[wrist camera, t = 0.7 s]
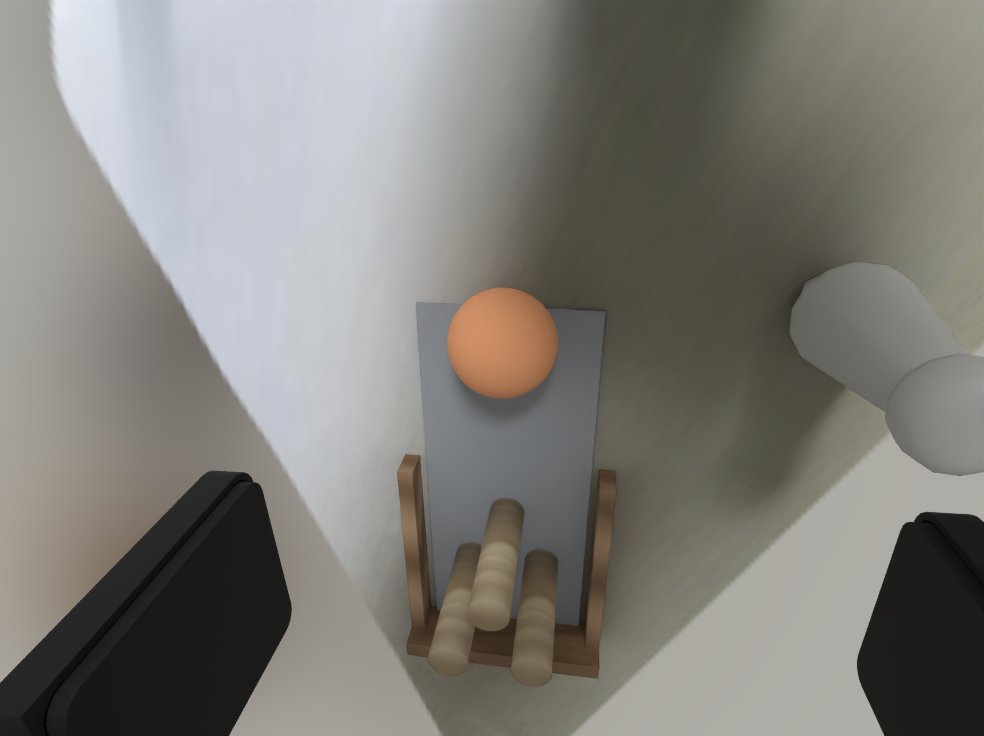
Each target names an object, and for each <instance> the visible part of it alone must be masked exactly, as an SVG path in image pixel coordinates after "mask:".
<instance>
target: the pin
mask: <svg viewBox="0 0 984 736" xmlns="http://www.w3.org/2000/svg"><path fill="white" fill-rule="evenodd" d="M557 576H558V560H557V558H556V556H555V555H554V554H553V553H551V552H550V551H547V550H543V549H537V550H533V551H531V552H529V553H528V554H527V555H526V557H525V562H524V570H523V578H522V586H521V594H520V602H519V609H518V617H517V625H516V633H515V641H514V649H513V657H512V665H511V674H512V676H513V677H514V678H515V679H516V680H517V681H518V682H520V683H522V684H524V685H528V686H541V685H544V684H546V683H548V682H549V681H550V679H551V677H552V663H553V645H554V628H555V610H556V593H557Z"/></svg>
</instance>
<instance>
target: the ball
mask: <svg viewBox="0 0 984 736" xmlns="http://www.w3.org/2000/svg"><path fill="white" fill-rule="evenodd" d="M447 350H448V355H449V359H450V362H451V365H452V367H453V369H454V371H455V373H456V374H457V375H458V377H459V378H460V379H461V380H462V381H463V382H464V384H466V385H467V386H468V387H469V388H471V389H472V390H474V391H475V392H477V393H479V394H481V395H484V396H487V397H491V398H498V399H507V398H513V397H518V396H521V395H524V394H526V393H528V392H530V391H532V390H533V389H534V388H536V387H537V386H538V385H539V384H541V383H542V382H543V381H544V379H545V378H546V377H547V376H548V374H549V373H550V371H551V369H552V367H553V365H554V363H555V360H556V356H557V351H558V335H557V329H556V326H555V323H554V321H553V319H552V317H551V315H550V313H549V312H548V310H547V309H546V308H545V307H544V305H543V304H542V303H541V302H539V301H538V300H537V299H536V298H534V297H533V296H531V295H530V294H528V293H526V292H523V291H521V290H517V289H513V288H492V289H488V290H484V291H482V292H480V293H477V294H476V295H474V296H472V297H471V298H469V299H468V300H467V301H466V302H464V304H463V305H462V306H461V307H460V308H459V309H458V311H457V312H456V314H455V315H454V317H453V319H452V321H451V324H450V327H449V330H448V336H447Z"/></svg>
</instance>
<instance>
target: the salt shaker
mask: <svg viewBox="0 0 984 736" xmlns="http://www.w3.org/2000/svg"><path fill="white" fill-rule="evenodd" d="M789 333H790V336H791V338H792V340H793V342H794V344H795V346H796V348H797V350H798V352H799V354H800V356H801V357H802V358H804V359H805V360H807V361H808V362H810V363H811V364H812V365H814V366H815V367H817V368H818V369H820V370H821V371H823V372H824V373H826V374H827V375H829V376H830V377H832V378H833V379H835V380H837V381H838V382H840V383H841V384H843V385H844V386H846V387H847V388H849V389H850V390H852V391H854V392H855V393H857V394H858V395H860V396H861V397H863V398H864V399H866V400H867V401H869V402H871V403H872V404H874V405H875V406H877V407H878V408H880V409H881V410H883V411H884V412H886V415H885V418H886V423H887V425H888V427H889V429H890V431H891V433H892V436H893V438H894V440H895V441H896V443H897V444H898V446H899V447H900V449H901V450H902V451H903V452H904V453H906V454H907V455H908V456H910V457H911V458H913V459H914V460H915V461H917V462H919V463H920V464H922V465H923V466H924V467H926V468H927V469H929V470H930V471H932V472H935V473H943V474H949V475H956V476H962V475H969V474H975V473H981V472H984V357H979V356H972V355H969V353H968V352H967V351H966V350H965V348H964V347H963V346H962V344H961V343H960V342H959V341H958V339H957V338H956V337H955V335H954V334H953V333H952V332H951V330H950V329H949V328H948V326H947V325H946V324H945V323H944V321H943V320H942V319H941V318H940V316H939V315H938V314H937V312H936V311H935V310H934V309H933V307H932V306H931V305H930V303H929V302H928V301H927V300H926V298H925V297H924V296H923V295H922V293H921V292H920V291H919V289H918V288H917V287H916V286H915V284H914V283H913V282H912V281H911V280H909V279H908V278H906V277H905V276H904V275H902V274H901V273H899V272H898V271H896V270H895V269H893V268H892V267H890V266H887V265H881V264H873V263H865V262H853V263H848V264H843V265H839V266H837V267H835V268H832V269H829V270H827V271H826V272H824V273H823V274H821V275H819V276H816V277H814V278H812V279H810V280H808V281H806V282H805V283H804V286H803V289H802V291H801V294H800V296H799V298H798V299H797V301H796V303H795V304H794V306H793V308H792V312H791V321H790V330H789Z"/></svg>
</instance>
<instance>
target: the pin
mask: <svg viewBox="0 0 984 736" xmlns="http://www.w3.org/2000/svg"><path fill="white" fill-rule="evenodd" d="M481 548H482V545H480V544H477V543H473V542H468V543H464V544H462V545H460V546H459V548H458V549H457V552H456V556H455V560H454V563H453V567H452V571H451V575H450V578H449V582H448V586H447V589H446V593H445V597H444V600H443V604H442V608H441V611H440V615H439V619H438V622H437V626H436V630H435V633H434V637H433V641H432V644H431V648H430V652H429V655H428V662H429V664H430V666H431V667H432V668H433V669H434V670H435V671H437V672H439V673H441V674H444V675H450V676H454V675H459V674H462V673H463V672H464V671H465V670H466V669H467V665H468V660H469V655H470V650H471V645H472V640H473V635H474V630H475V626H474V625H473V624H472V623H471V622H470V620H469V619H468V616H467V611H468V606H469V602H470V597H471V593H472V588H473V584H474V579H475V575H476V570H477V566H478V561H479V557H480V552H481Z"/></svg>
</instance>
